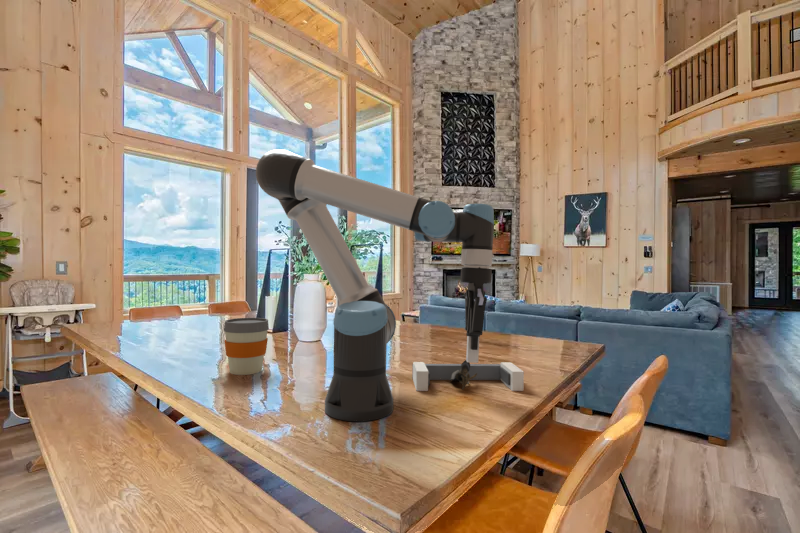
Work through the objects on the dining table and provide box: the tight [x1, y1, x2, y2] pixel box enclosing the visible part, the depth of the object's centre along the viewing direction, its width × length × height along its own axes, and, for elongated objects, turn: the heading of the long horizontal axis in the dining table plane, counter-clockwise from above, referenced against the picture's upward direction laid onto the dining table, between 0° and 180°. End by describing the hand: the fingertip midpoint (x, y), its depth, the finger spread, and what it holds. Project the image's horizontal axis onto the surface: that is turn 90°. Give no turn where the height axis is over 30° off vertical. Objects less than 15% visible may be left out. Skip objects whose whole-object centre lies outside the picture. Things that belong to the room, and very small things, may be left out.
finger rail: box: [411, 361, 525, 392], centre depth 109 cm, size 28×12×5 cm, turn 93°
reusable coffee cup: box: [223, 317, 270, 376], centre depth 119 cm, size 13×13×15 cm
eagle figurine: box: [448, 359, 477, 391], centre depth 108 cm, size 8×7×9 cm
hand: (472, 361), depth 100 cm, fingers closed
